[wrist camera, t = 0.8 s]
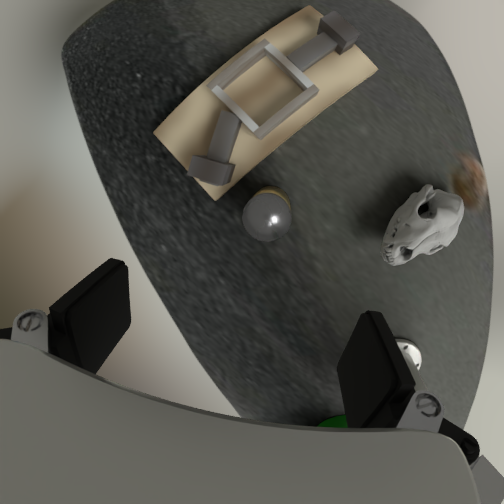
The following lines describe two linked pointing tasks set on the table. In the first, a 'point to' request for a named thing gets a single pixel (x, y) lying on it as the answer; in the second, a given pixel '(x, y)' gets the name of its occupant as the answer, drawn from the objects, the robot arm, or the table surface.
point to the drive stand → (264, 97)
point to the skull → (422, 225)
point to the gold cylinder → (267, 214)
